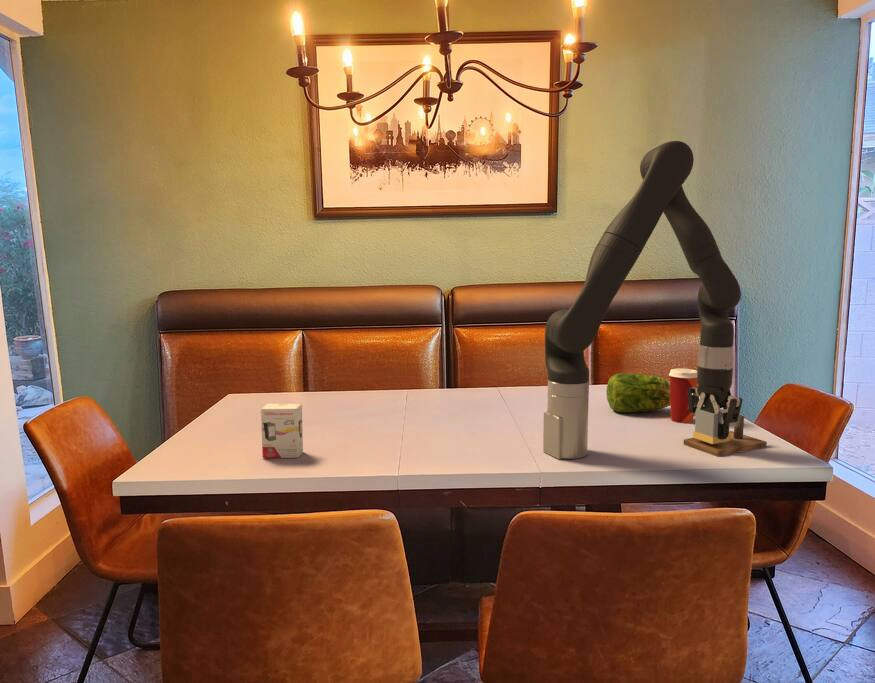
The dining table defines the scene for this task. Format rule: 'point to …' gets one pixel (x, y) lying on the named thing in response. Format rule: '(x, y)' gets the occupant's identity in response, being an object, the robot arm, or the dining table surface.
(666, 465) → the dining table surface
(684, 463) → the dining table surface
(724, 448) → the pin board
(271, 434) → the ink box
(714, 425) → the sleeve
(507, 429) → the dining table surface
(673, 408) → the paper cup
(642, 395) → the lettuce
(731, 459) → the dining table surface
